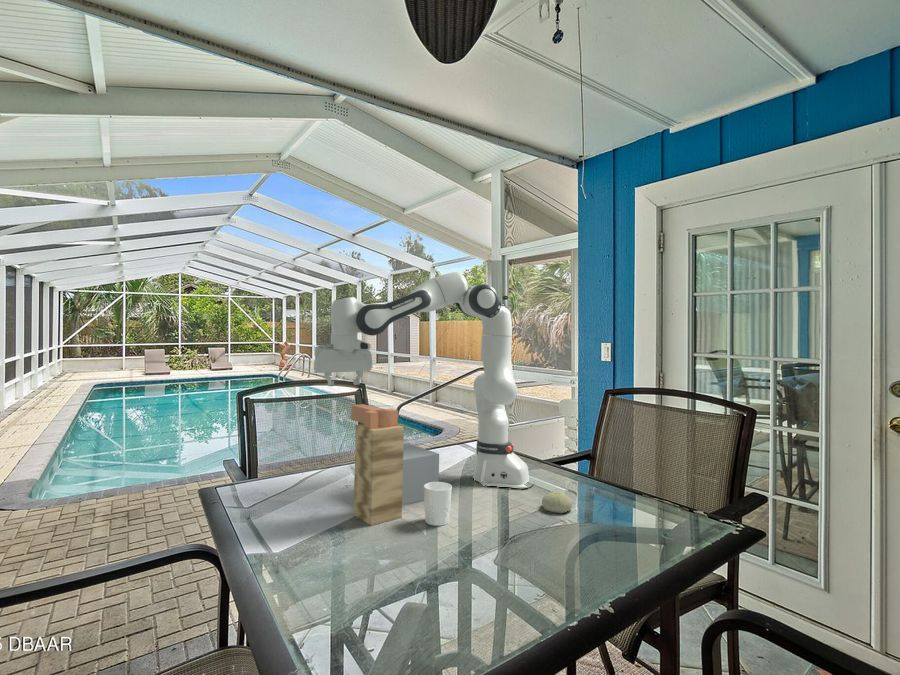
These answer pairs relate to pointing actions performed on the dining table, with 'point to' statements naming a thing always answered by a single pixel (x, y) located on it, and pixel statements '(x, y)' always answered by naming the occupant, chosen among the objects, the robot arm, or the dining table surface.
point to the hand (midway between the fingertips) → (343, 385)
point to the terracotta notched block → (374, 416)
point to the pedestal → (378, 473)
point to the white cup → (437, 503)
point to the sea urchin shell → (556, 502)
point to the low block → (418, 472)
